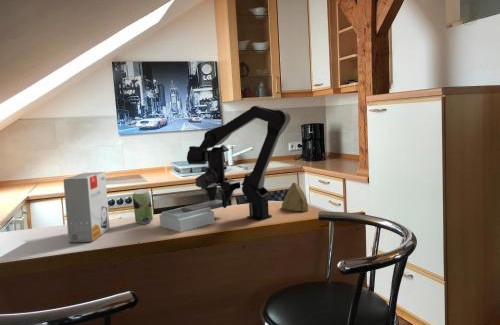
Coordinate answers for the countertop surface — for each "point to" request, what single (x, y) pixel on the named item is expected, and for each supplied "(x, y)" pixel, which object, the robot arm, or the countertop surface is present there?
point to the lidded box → (186, 219)
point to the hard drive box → (86, 206)
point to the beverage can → (142, 206)
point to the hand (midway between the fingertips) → (218, 206)
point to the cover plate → (203, 206)
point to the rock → (295, 199)
